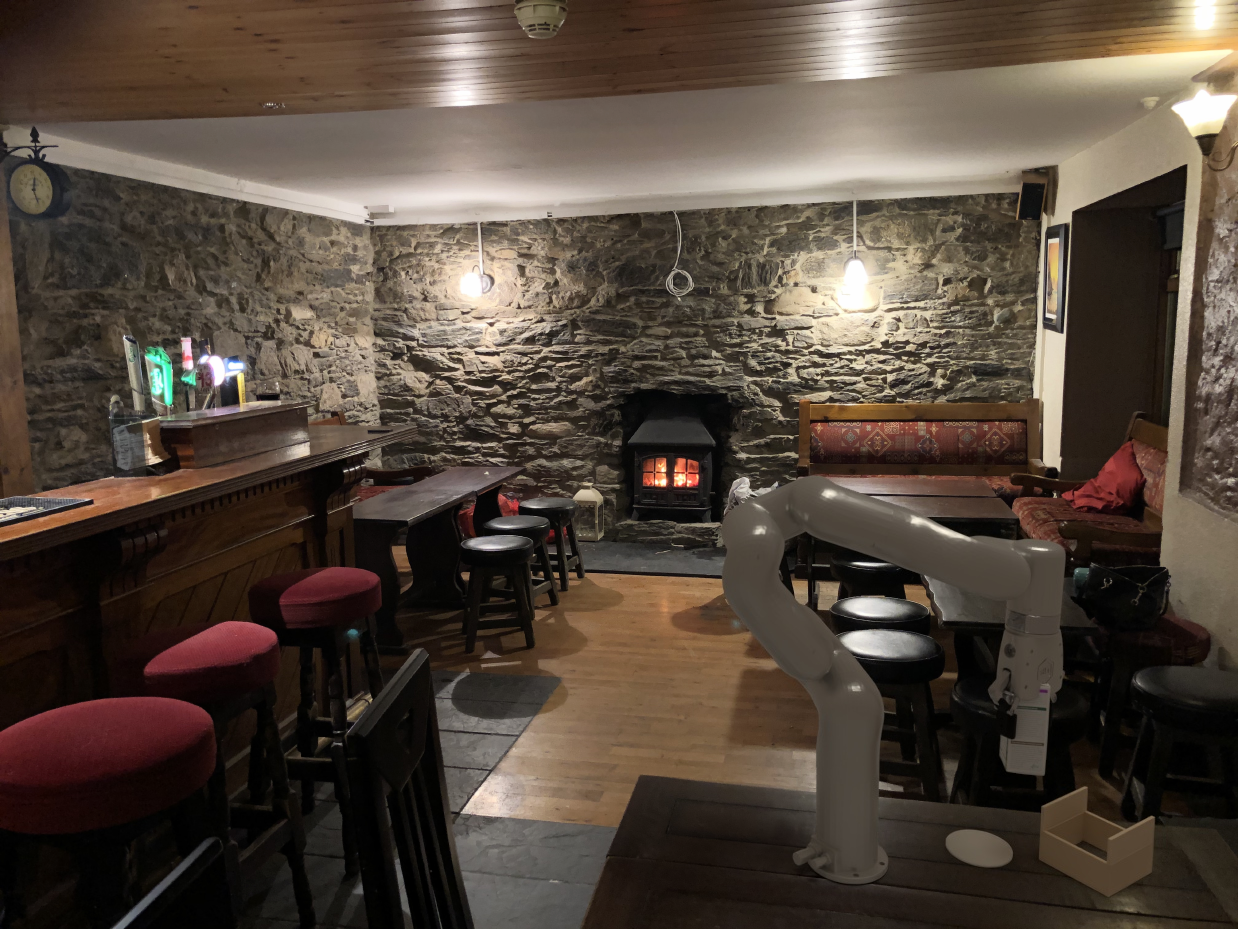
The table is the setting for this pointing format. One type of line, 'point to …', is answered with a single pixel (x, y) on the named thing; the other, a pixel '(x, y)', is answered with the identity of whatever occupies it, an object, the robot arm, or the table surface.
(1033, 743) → the syrup box
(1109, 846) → the wooden frame
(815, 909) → the table surface
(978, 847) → the beer mat
